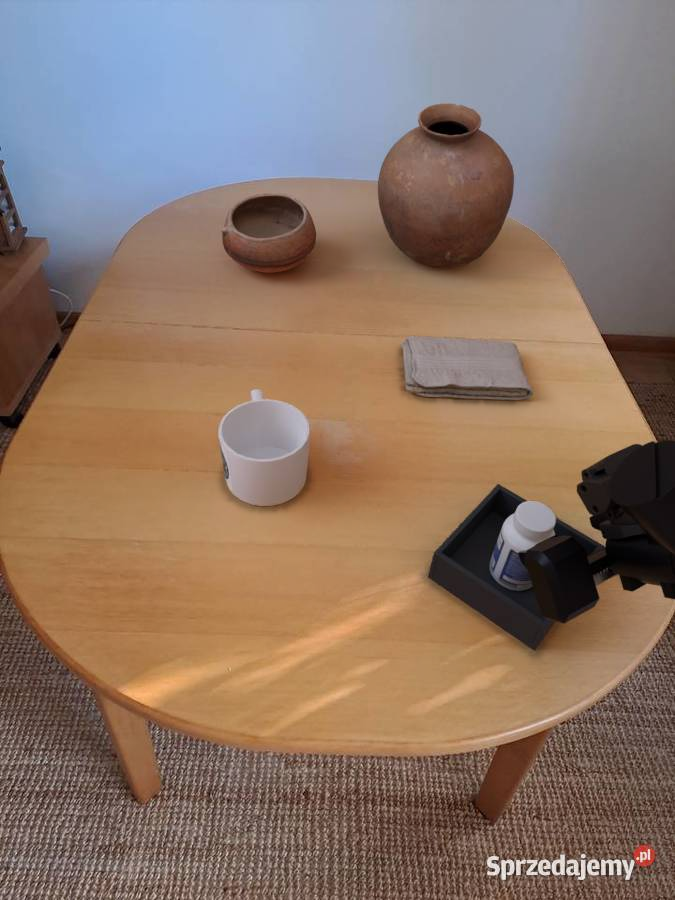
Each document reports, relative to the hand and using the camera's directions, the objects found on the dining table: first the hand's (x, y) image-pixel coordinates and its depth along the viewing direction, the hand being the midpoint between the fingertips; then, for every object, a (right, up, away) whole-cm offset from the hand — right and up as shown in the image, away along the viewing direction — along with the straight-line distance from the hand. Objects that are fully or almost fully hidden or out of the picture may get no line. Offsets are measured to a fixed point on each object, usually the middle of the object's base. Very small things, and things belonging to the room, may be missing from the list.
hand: (557, 538), depth 65 cm
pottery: (-4, +44, +58) cm, 73 cm away
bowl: (-33, +41, +53) cm, 75 cm away
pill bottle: (-2, -5, +9) cm, 10 cm away
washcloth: (-3, +20, +34) cm, 39 cm away
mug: (-30, +6, +18) cm, 36 cm away
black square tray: (-2, -5, +9) cm, 11 cm away
